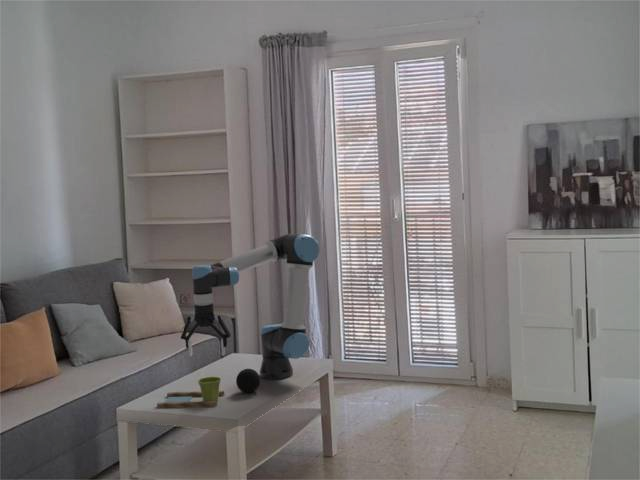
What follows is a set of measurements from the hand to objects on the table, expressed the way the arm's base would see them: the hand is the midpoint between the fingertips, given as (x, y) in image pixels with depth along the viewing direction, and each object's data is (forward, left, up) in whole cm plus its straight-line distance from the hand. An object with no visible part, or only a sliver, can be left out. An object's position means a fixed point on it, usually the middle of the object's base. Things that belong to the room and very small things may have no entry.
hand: (207, 355), depth 299 cm
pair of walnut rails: (+8, 0, -19) cm, 20 cm away
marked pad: (+14, 0, -19) cm, 23 cm away
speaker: (-14, -10, -19) cm, 26 cm away
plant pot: (0, 0, -19) cm, 19 cm away
